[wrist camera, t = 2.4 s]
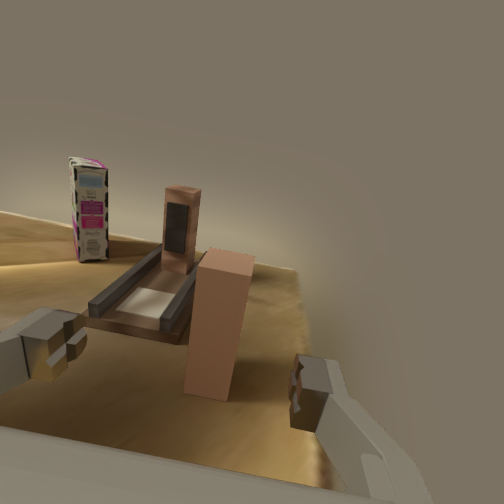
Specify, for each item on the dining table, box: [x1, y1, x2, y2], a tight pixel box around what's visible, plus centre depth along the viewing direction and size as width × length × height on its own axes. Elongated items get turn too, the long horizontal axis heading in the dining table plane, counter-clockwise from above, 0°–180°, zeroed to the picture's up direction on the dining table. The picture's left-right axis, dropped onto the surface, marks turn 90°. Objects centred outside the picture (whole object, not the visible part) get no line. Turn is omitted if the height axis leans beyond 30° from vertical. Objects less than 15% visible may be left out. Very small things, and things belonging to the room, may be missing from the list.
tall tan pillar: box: [183, 248, 255, 402], centre depth 26 cm, size 4×5×14 cm
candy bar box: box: [69, 157, 109, 262], centre depth 48 cm, size 11×5×16 cm, turn 35°
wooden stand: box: [82, 185, 207, 345], centre depth 40 cm, size 12×22×16 cm, turn 175°
